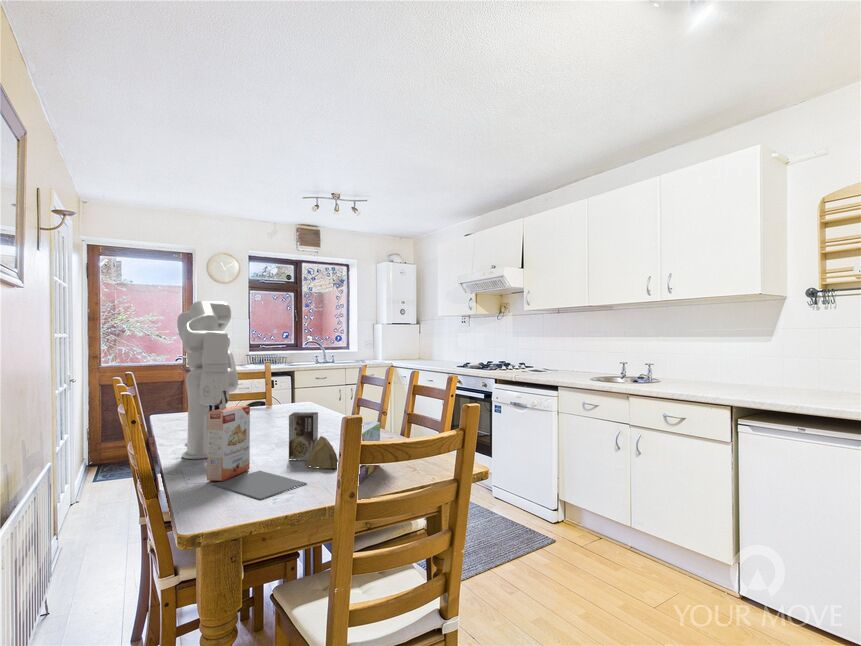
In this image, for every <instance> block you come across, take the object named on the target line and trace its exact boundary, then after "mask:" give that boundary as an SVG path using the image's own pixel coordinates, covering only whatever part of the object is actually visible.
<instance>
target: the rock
mask: <svg viewBox="0 0 861 646" xmlns="http://www.w3.org/2000/svg"><path fill="white" fill-rule="evenodd" d="M337 462H338V463H339V460H338V457H337V453H336V451H335V449H334V447H333V445H332V444H331V443H330V441H329V440H328V439H327V438H326V437H325V436H322V435H320V436H319V437H318V441H317V442H316V444H315V446H314V448H313V450H312V452H311V454H310V455H309V457H308V460H306V464H305V466H311V467H319V468H318V469H323V468H334V470H335V469H338V468H337ZM311 467H310V468H311Z"/></svg>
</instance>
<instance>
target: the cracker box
mask: <svg viewBox="0 0 861 646" xmlns="http://www.w3.org/2000/svg"><path fill="white" fill-rule="evenodd" d="M250 426H251V406H250V405H233V406H228V407H226V408H223V409H218V410H213V411H208V415H207V458H206V481H212V482H213V481H214V482H221V481H224V480H228V479H232V478H234V476H237V475H238V476H239V475H240V474H242V473H244V472H247V471H249V470H250V467H251V466H250V460H251V459H250V457H251V456H250V454H251V453H250V452H251V449H250V445H251V444H250V442H251V441H250V439H251V437H250V435H251V427H250Z"/></svg>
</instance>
